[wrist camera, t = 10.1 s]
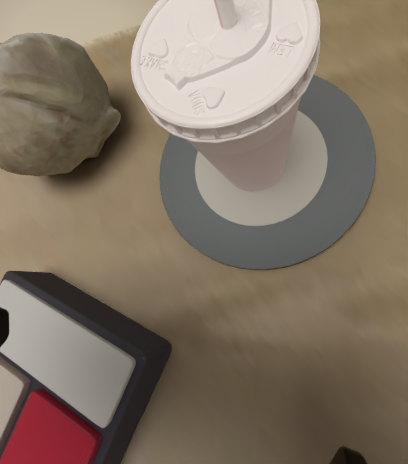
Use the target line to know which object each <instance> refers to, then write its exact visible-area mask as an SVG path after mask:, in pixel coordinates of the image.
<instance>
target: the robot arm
mask: <svg viewBox="0 0 408 464" xmlns="http://www.w3.org/2000/svg"><path fill="white" fill-rule="evenodd" d="M8 336H9V312H8V311H7V310H6V309H4V308H1V307H0V347H1V346H2V345H3V344H4V343H5V341H6V340H7V338H8ZM330 464H367V462H366V460H365V459H364V457H363V456H362V455H361V453H359V452H358V451H355V450H353V449H350V448H348V447H345V446H342V447H340V448H339V449H338V451H337V453H336V454H335V456H334V457H333V459H332V461H331V462H330Z"/></svg>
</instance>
